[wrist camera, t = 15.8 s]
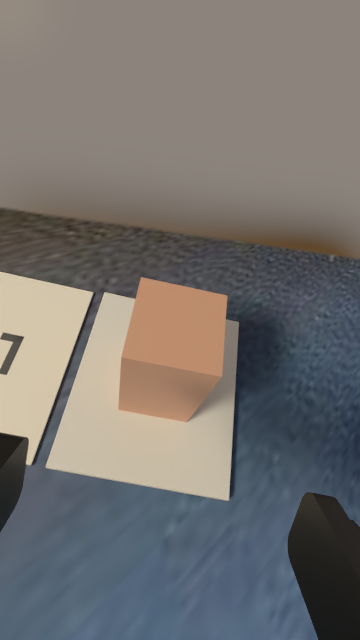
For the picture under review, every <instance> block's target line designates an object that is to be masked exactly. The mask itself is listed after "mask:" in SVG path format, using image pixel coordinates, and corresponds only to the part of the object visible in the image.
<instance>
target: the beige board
mask: <svg viewBox="0 0 360 640" xmlns="http://www.w3.org/2000/svg"><path fill="white" fill-rule="evenodd" d="M135 300H136V299H133V298H128V297H124V296H119V295H115V294H110V293H106V292H105V293H104V296H103V299H102V302H101V305H100V307H99V310H98V313H97V316H96V319H95V322H94V325H93V328H92V331H91V334H90V337H89V340H88V343H87V346H86V349H85V352H84V355H83V358H82V361H81V364H80V367H79V370H78V373H77V376H76V379H75V382H74V384H73V387H72V390H71V393H70V396H69V399H68V402H67V405H66V408H65V411H64V414H63V417H62V420H61V423H60V426H59V429H58V432H57V435H56V438H55V441H54V444H53V447H52V450H51V453H50V456H49V458H48V461H47V464H46V468H47V469H52V470H58V471H64V472H69V473H75V474H80V475H86V476H91V477H97V478H102V479H108V480H113V481H119V482H124V483H130V484H136V485H141V486H147V487H152V488H158V489H163V490H169V491H174V492H180V493H185V494H191V495H197V496H202V497H208V498H213V499H219V500H224V501H229V491H230V473H231V455H232V437H233V419H234V401H235V384H236V366H237V348H238V330H239V322H236V321H231V320H227V319H226V323H225V339H224V355H223V371H222V378H221V379H220V380H219V382H218V383H217V384H216V385H215V387H214V388H213V389H212V391H211V392H210V393H209V394H208V396H207V397H206V398H205V399H204V401H203V402H202V403H201V405H200V406H199V407H198V408H197V410H196V411H195V412H194V414H193V415H192V416H191V417H190V419H189V420H188V421H187V422H183V421H177V420H172V419H166V418H160V417H155V416H149V415H144V414H138V413H133V412H127V411H121V410H118V403H119V386H120V369H121V356H122V352H123V348H124V344H125V340H126V336H127V332H128V328H129V324H130V320H131V316H132V312H133V308H134V304H135Z"/></svg>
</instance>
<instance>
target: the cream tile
mask: <svg viewBox="0 0 360 640" xmlns="http://www.w3.org/2000/svg"><path fill="white" fill-rule="evenodd" d="M92 296H93V292H89V291H85V290H80V289H76V288H71V287H67V286H62V285H58V284H53V283H48V282H44V281H39V280H35V279H30V278H26V277H21V276H17V275H12V274H8V273H3V272H0V432H1V433H7V434H12V435H17V436H22V437H27V438H28V439H29V446H28V453H27V460H26V465H30V466H32V463H33V460H34V457H35V455H36V452H37V449H38V446H39V443H40V441H41V438H42V435H43V432H44V430H45V427H46V424H47V421H48V418H49V416H50V413H51V410H52V407H53V405H54V402H55V399H56V396H57V393H58V391H59V388H60V385H61V382H62V380H63V377H64V374H65V371H66V368H67V366H68V363H69V360H70V357H71V355H72V352H73V349H74V346H75V343H76V341H77V338H78V335H79V332H80V330H81V327H82V324H83V321H84V318H85V316H86V313H87V310H88V307H89V305H90V302H91V299H92Z"/></svg>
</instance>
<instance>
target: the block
mask: <svg viewBox="0 0 360 640" xmlns="http://www.w3.org/2000/svg"><path fill="white" fill-rule="evenodd" d="M226 308H227V296H226V295H222V294H217V293H212V292H208V291H203V290H198V289H194V288H189V287H184V286H180V285H175V284H170V283H166V282H161V281H156V280H152V279H147V278H142V277H141V280H140V284H139V288H138V292H137V296H136V300H135V304H134V308H133V312H132V316H131V320H130V324H129V328H128V332H127V336H126V340H125V344H124V348H123V352H122V356H121V369H120V386H119V403H118V410H121V411H127V412H133V413H138V414H144V415H149V416H155V417H160V418H166V419H172V420H177V421H183V422H187V421H188V420H189V419H190V417H191V416H192V415H193V414H194V412H195V411H196V410H197V408H198V407H199V406H200V405H201V403H202V402H203V401H204V399H205V398H206V397H207V396H208V394H209V393H210V392H211V391H212V389H213V388H214V387H215V385H216V384H217V383H218V382H219V380H220V379H221V378H222V371H223V355H224V339H225V323H226Z"/></svg>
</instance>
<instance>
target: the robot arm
mask: <svg viewBox="0 0 360 640" xmlns="http://www.w3.org/2000/svg"><path fill="white" fill-rule="evenodd" d="M28 446H29V439H28V438H27V437H22V436H17V435H12V434H7V433H1V432H0V532H1V530H2V528H3V527H4V525H5V523H6V522H7V520H8V518H9V517H10V515H11V513H12V512H13V510H14V508H15V506H16V504H17V502H18V499H19V497H20V494H21V490H22V486H23V481H24V474H25V467H26V460H27V453H28ZM288 555H289V559H290V562H291V565H292V568H293V570H294V573H295V576H296V579H297V582H298V584H299V587H300V590H301V593H302V595H303V598H304V601H305V604H306V606H307V609H308V612H309V615H310V617H311V620H312V623H313V626H314V628H315V631H316V634H317V637H318V639H319V640H360V527H359V526H358V525H357V524H356V523H355V522H354V521H353V520H350V519H349V518H348V516H347V515H346V513H345V511H344V510H343V508H342V507H341V505H340V503H339V502H338V501H337V499H336V498H334V497H331V496H326V495H321V494H315V493H310V492H307V493H305V494H304V496H303V498H302V500H301V503H300V506H299V508H298V511H297V514H296V516H295V519H294V522H293V524H292V527H291V530H290V533H289V536H288Z"/></svg>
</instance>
